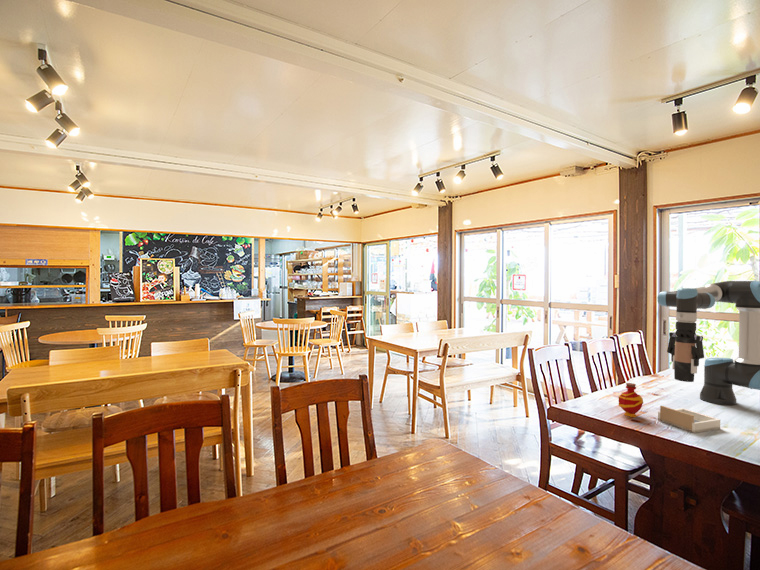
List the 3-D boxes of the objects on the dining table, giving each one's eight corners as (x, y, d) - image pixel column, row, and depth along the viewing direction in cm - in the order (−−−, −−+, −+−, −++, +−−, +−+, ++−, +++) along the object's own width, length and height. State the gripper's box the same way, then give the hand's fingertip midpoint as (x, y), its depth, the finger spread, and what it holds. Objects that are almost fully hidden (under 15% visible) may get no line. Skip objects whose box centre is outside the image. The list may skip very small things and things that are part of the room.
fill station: (682, 416, 190) (682, 402, 190) (720, 428, 175) (720, 412, 175) (657, 420, 185) (658, 405, 185) (694, 433, 170) (694, 416, 170)
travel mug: (698, 382, 180) (699, 338, 179) (678, 381, 181) (680, 337, 181) (689, 378, 187) (690, 336, 187) (670, 377, 189) (671, 335, 189)
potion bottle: (635, 420, 185) (635, 388, 185) (613, 413, 194) (613, 382, 194) (648, 416, 190) (648, 385, 190) (626, 410, 199) (626, 380, 199)
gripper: (658, 319, 193) (657, 366, 193) (703, 324, 173) (702, 376, 173) (670, 319, 195) (668, 366, 195) (716, 324, 175) (714, 375, 175)
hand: (684, 371), depth 184 cm, fingers closed on travel mug, 8 cm apart
